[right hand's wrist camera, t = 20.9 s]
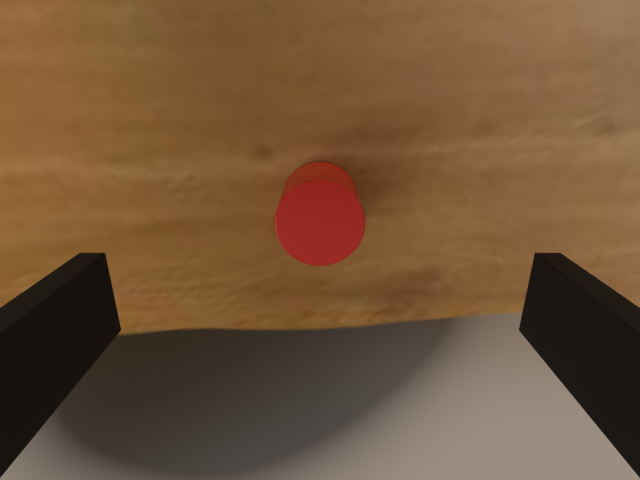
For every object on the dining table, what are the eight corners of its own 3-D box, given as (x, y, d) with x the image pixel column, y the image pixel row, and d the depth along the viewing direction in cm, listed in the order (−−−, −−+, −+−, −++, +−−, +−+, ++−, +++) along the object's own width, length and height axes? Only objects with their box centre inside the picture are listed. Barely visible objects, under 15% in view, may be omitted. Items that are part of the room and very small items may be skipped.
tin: (337, 148, 21) (341, 163, 17) (368, 214, 23) (379, 244, 18) (270, 181, 22) (257, 204, 18) (303, 244, 23) (300, 279, 19)
